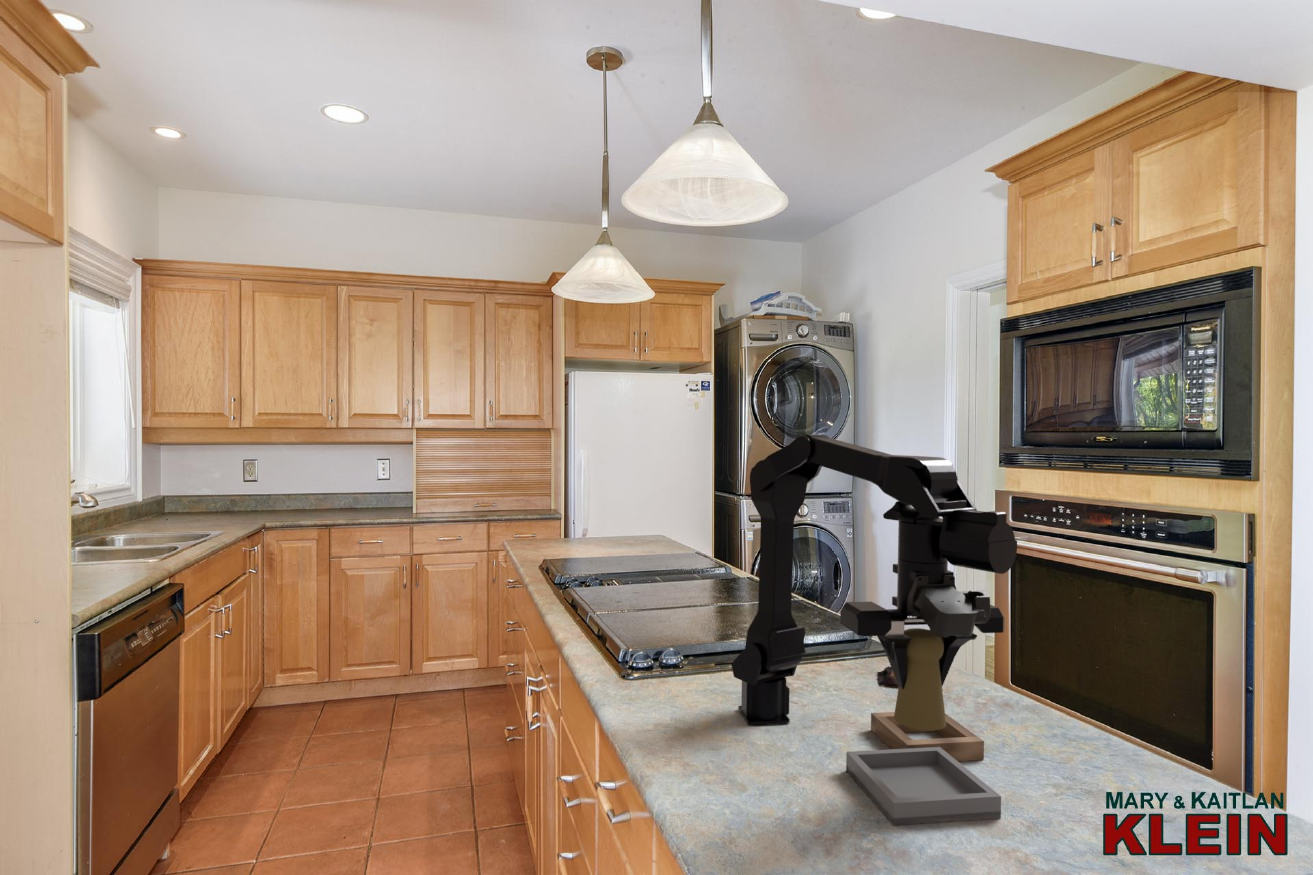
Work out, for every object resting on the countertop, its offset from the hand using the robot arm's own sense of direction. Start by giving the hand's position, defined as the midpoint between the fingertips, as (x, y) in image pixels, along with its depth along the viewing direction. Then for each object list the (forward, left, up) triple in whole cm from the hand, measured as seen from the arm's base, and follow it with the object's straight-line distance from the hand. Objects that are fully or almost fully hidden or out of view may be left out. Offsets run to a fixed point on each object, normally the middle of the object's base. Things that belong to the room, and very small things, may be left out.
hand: (920, 687), depth 87 cm
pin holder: (+8, +13, -13) cm, 20 cm away
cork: (0, 0, -4) cm, 4 cm away
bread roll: (+18, +37, -14) cm, 44 cm away
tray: (0, 0, -13) cm, 13 cm away
